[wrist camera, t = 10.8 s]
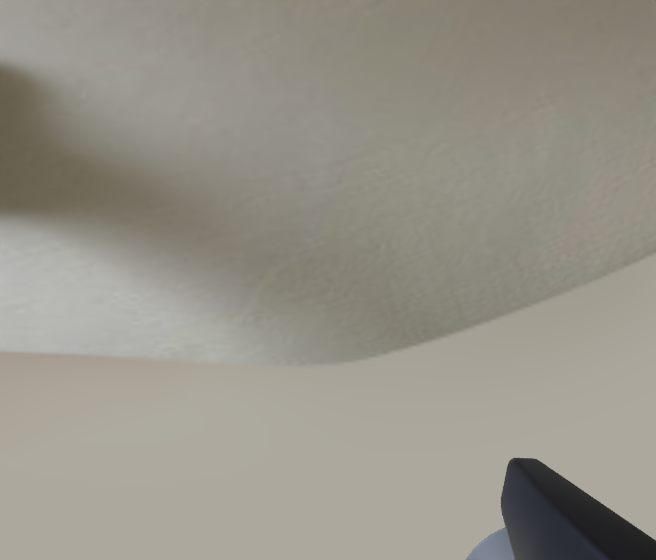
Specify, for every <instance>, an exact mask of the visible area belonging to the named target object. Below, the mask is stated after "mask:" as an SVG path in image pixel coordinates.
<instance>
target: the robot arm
mask: <svg viewBox="0 0 656 560" xmlns="http://www.w3.org/2000/svg"><path fill="white" fill-rule="evenodd" d="M501 509H502V515H503V519H504V522H505V526H506V530H507V533H508V537H509V540H510V544H511V548H512V551H513V555H514V558H515V560H656V540H654V539H652V538H651V537H650V536H648V535H647V534H645V533H644V532H642V531H641V530H639V529H638V528H637V527H635V526H633V525H632V524H631V523H629V522H628V521H626V520H625V519H623V518H622V517H620V516H619V515H617V514H616V513H615V512H613V511H612V510H610V509H609V508H607V507H606V506H604V505H603V504H601V503H600V502H599V501H597V500H596V499H594V498H593V497H591V496H590V495H588V494H587V493H585V492H584V491H582V490H581V489H580V488H578V487H577V486H575V485H574V484H572V483H571V482H569V481H568V480H566V479H565V478H563V477H562V476H561V475H559V474H558V473H556V472H555V471H553V470H552V469H550V468H549V467H547V466H546V465H544V464H543V463H542V462H540V461H538V460H537V459H531V458H529V459H528V458H513V459H511V460H510V462H509V464H508V466H507V472H506V476H505V481H504V486H503V492H502V496H501Z"/></svg>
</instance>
